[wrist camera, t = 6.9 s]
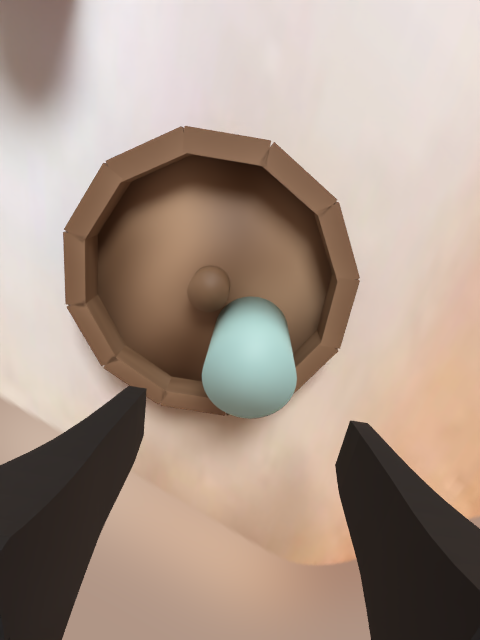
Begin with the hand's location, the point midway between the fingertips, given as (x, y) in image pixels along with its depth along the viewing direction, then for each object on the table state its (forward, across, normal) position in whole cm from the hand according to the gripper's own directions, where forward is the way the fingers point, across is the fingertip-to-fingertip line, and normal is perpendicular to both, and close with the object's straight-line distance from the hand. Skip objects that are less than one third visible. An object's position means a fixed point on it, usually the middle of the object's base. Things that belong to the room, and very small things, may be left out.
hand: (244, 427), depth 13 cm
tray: (+9, +2, -2) cm, 10 cm away
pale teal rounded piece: (+8, 0, 0) cm, 8 cm away
